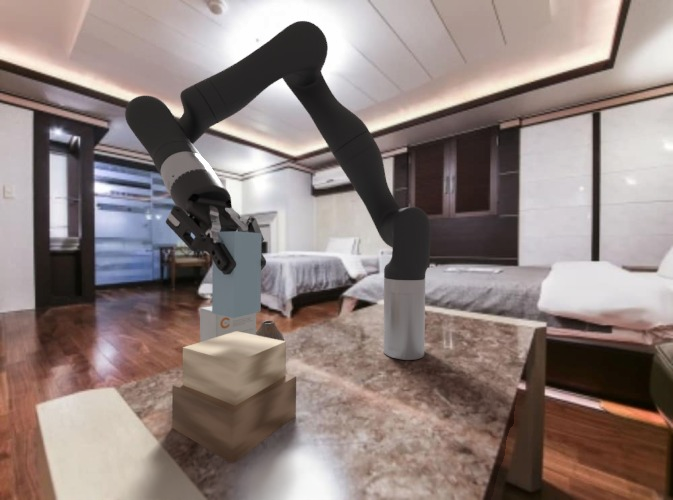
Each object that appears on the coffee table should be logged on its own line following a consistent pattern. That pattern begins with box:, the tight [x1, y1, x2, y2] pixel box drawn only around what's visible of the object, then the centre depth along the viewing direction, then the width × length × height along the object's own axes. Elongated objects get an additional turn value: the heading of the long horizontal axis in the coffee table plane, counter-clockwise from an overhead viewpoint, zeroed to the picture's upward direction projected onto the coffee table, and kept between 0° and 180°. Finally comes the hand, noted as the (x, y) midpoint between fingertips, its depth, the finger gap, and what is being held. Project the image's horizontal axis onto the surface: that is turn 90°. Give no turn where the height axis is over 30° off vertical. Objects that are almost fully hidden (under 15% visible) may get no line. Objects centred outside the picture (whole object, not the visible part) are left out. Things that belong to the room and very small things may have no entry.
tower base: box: [171, 372, 297, 464], centre depth 40 cm, size 11×12×6 cm
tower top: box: [182, 331, 287, 406], centre depth 40 cm, size 9×10×5 cm
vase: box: [256, 320, 285, 341], centre depth 60 cm, size 7×7×9 cm
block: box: [211, 231, 263, 318], centre depth 40 cm, size 4×4×11 cm
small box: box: [199, 305, 257, 342], centre depth 54 cm, size 8×6×13 cm
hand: (246, 268), depth 39 cm, fingers closed on block, 4 cm apart
